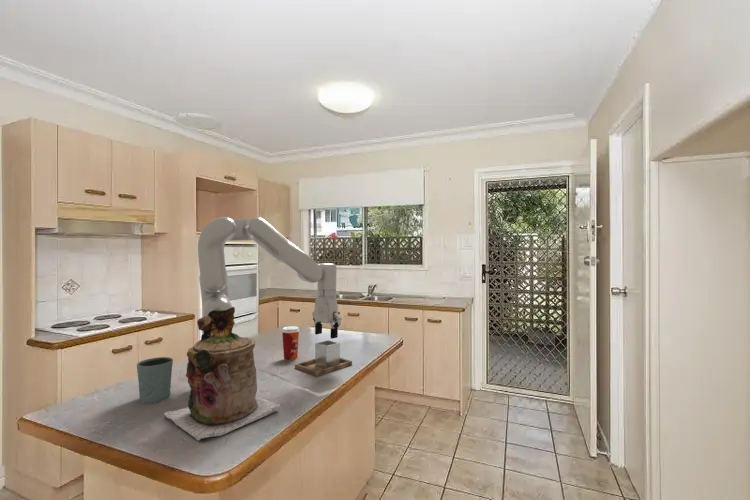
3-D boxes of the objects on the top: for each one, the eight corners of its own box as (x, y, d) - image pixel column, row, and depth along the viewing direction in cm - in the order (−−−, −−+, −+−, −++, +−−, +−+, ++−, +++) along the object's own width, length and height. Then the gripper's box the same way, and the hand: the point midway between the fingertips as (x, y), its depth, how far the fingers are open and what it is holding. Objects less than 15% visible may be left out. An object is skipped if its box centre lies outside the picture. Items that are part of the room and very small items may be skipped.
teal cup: (132, 406, 114) (131, 367, 114) (143, 393, 124) (142, 358, 124) (168, 402, 117) (168, 364, 117) (176, 390, 127) (176, 355, 127)
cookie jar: (239, 391, 126) (238, 297, 125) (283, 411, 110) (282, 304, 110) (160, 417, 107) (159, 307, 106) (201, 446, 91) (199, 317, 91)
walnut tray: (316, 379, 137) (316, 372, 137) (294, 370, 146) (294, 364, 146) (352, 367, 150) (352, 361, 150) (329, 360, 159) (329, 354, 159)
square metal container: (326, 369, 145) (326, 346, 145) (315, 365, 149) (315, 343, 149) (339, 365, 150) (339, 342, 150) (328, 361, 154) (328, 340, 154)
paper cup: (297, 362, 156) (297, 329, 156) (279, 362, 156) (279, 329, 156) (301, 357, 164) (301, 325, 164) (284, 357, 164) (284, 325, 164)
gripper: (306, 292, 152) (305, 333, 152) (333, 296, 141) (333, 341, 141) (320, 291, 158) (319, 331, 158) (348, 295, 146) (347, 338, 146)
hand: (326, 335), depth 149 cm, fingers open, 9 cm apart
